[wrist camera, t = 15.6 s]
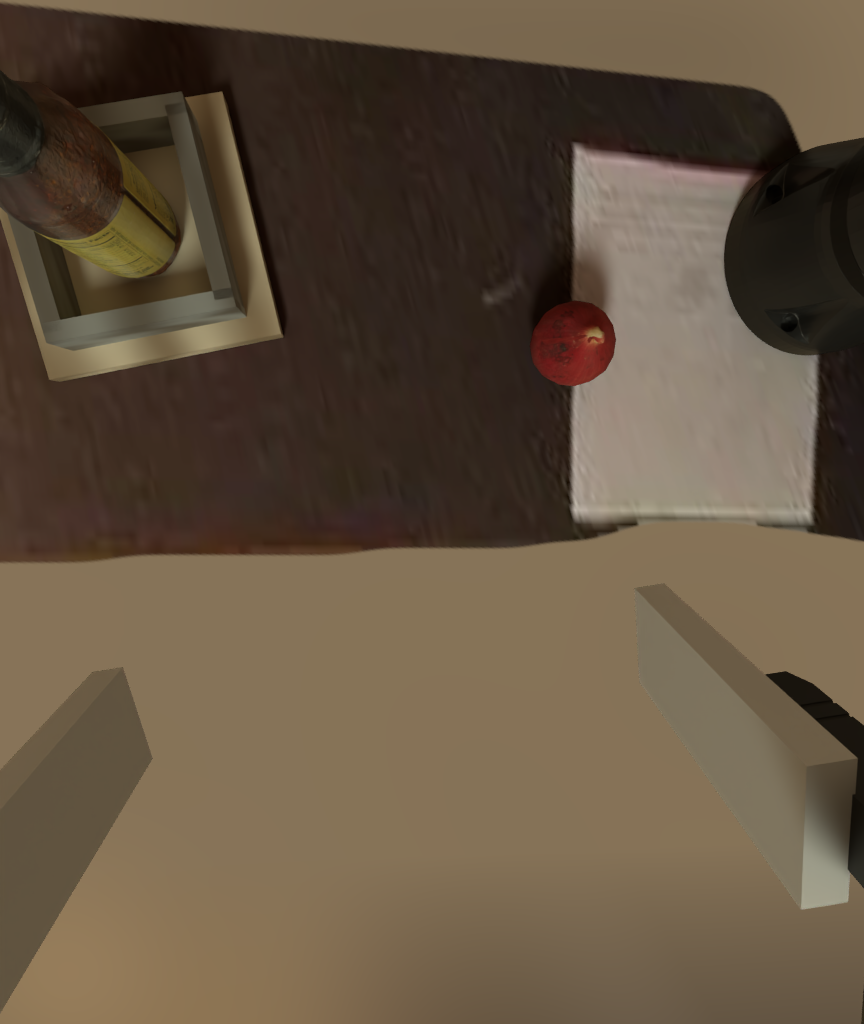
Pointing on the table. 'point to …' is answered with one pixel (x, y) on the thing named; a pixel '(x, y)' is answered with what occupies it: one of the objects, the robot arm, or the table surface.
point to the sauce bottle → (79, 185)
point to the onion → (573, 343)
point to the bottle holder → (195, 270)
